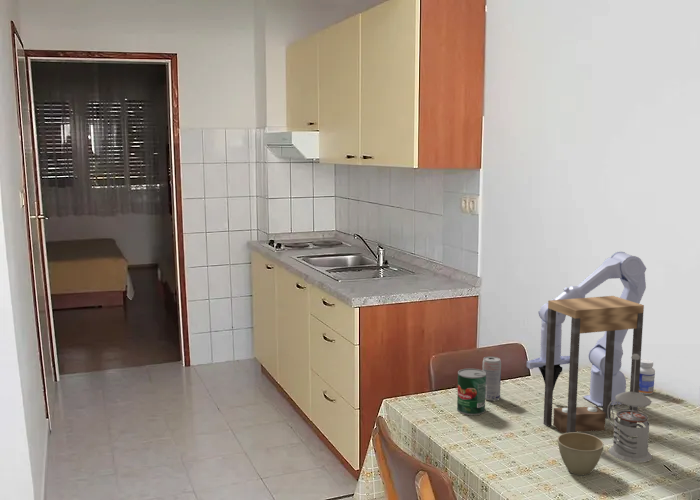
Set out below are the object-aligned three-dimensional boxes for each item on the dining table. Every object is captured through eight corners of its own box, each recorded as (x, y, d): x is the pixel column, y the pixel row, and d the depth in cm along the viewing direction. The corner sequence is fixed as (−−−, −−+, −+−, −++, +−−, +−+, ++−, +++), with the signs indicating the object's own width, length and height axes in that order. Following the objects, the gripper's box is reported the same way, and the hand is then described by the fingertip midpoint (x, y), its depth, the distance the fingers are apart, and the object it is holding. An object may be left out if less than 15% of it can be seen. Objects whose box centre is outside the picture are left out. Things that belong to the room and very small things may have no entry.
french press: (632, 465, 160) (638, 362, 156) (594, 447, 170) (598, 349, 166) (661, 457, 164) (667, 356, 161) (621, 439, 174) (627, 344, 171)
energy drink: (499, 395, 206) (500, 356, 205) (501, 401, 201) (502, 361, 199) (481, 394, 207) (481, 356, 205) (482, 400, 202) (483, 361, 200)
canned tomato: (454, 413, 192) (454, 375, 191) (460, 403, 200) (461, 367, 198) (482, 416, 189) (483, 378, 188) (487, 407, 197) (488, 370, 195)
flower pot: (549, 461, 162) (551, 432, 161) (590, 459, 163) (592, 431, 162) (566, 481, 152) (568, 451, 151) (610, 479, 153) (611, 449, 152)
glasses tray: (596, 424, 185) (597, 404, 184) (604, 431, 180) (605, 411, 179) (553, 425, 184) (554, 406, 183) (560, 433, 179) (561, 413, 178)
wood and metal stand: (606, 415, 190) (613, 295, 185) (636, 432, 178) (643, 305, 174) (543, 424, 184) (548, 300, 179) (569, 442, 173) (575, 310, 168)
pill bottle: (632, 388, 212) (634, 358, 210) (650, 389, 211) (652, 358, 209) (637, 394, 206) (638, 363, 205) (655, 395, 206) (657, 364, 204)
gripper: (564, 338, 204) (563, 382, 206) (521, 343, 200) (520, 387, 202) (578, 344, 197) (577, 390, 199) (534, 349, 193) (533, 395, 195)
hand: (549, 389), depth 200 cm, fingers closed
